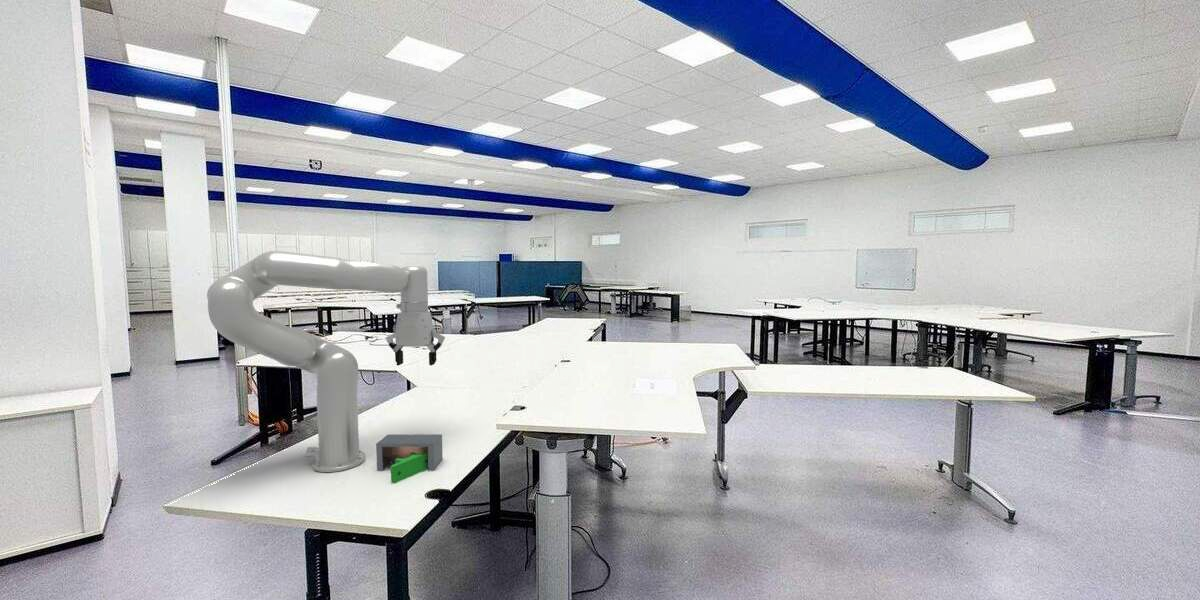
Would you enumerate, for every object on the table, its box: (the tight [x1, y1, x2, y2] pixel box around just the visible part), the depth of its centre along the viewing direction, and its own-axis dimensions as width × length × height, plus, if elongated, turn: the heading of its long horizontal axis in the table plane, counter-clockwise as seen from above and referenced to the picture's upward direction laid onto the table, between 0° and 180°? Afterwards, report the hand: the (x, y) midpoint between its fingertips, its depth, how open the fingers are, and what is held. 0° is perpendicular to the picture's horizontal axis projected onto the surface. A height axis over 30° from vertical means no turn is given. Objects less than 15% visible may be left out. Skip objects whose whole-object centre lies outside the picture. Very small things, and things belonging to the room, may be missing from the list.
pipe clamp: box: [390, 451, 428, 484], centre depth 119 cm, size 11×4×5 cm, turn 148°
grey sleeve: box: [375, 433, 444, 472], centre depth 124 cm, size 15×7×7 cm, turn 91°
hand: (416, 364), depth 138 cm, fingers open, 9 cm apart
